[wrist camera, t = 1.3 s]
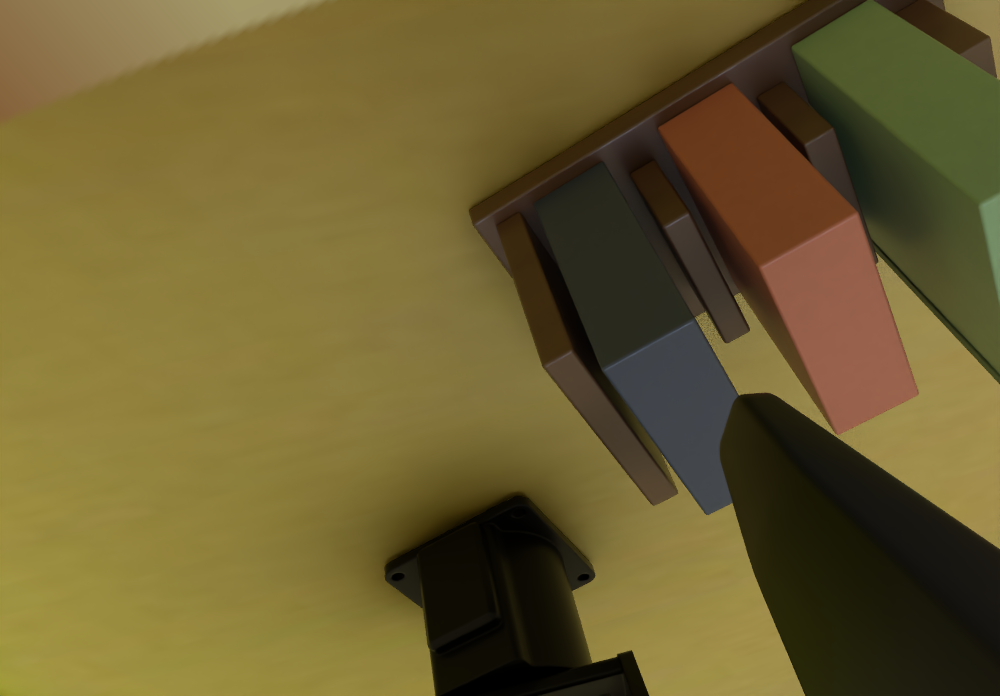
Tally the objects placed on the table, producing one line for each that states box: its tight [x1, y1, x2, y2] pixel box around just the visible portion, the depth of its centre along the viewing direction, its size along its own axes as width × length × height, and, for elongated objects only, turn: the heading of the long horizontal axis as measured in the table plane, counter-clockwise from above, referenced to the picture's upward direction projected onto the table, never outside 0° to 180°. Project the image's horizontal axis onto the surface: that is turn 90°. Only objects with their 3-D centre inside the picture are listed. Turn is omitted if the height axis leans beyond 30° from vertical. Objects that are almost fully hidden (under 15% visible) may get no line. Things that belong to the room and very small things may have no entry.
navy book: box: [534, 162, 739, 515], centre depth 22 cm, size 6×2×7 cm, turn 30°
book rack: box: [469, 0, 997, 506], centre depth 22 cm, size 7×13×7 cm, turn 120°
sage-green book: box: [792, 0, 1000, 384], centre depth 20 cm, size 6×2×8 cm, turn 30°
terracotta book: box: [658, 83, 919, 435], centre depth 22 cm, size 6×2×7 cm, turn 30°
